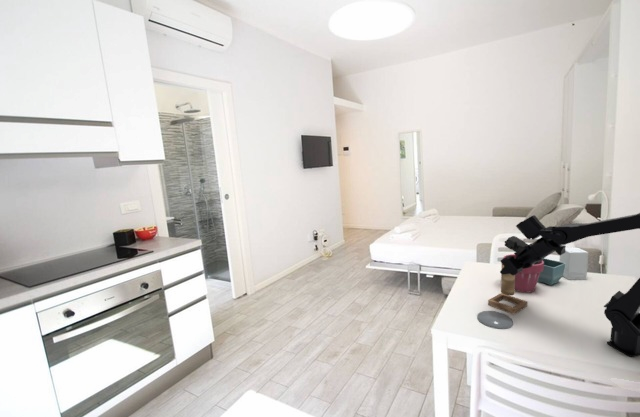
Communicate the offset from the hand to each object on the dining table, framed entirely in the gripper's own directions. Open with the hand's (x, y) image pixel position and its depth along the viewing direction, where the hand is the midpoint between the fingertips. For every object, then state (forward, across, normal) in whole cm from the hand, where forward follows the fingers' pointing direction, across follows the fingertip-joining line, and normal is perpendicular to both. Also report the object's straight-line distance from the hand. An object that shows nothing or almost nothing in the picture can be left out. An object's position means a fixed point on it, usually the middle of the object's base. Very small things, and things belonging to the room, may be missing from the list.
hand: (504, 271), depth 114 cm
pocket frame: (+8, 0, +10) cm, 13 cm away
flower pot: (+9, -33, +11) cm, 36 cm away
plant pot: (+12, -20, +8) cm, 24 cm away
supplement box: (+6, -47, +14) cm, 49 cm away
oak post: (+5, 0, +7) cm, 8 cm away
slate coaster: (+7, +13, +12) cm, 19 cm away
